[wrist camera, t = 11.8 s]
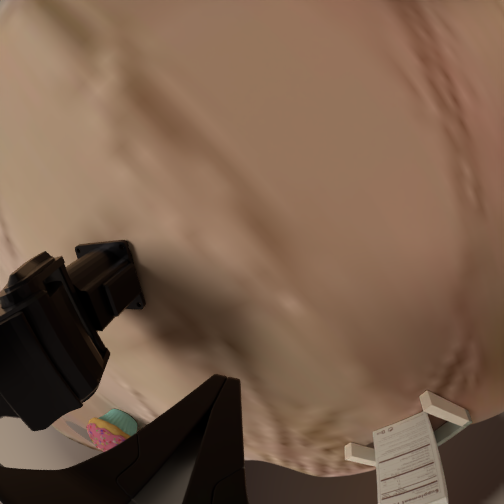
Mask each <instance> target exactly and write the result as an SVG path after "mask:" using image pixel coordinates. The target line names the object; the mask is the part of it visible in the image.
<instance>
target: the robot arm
mask: <svg viewBox="0 0 504 504" xmlns="http://www.w3.org/2000/svg"><path fill="white" fill-rule="evenodd" d="M122 245H123V247H124V248H123V247H122ZM75 252H76V255H77V258H78V259H77V260H76V261H74V262H73V263H71V264H70V265H68V266H67V267H65V265H64V263H65V262H64V259H63V257H62V256H60V257H57V258H54V257H52V256H50V255H49V254H48V253H47V252H46V251H45V252H42V253H40V254H39V255H37V256H35V257H33V258H32V259H30V260H29V261H27V262H26V263H24V264H23V265H22V266H20V267H19V268H18V269H17V270H16V271H14V272H13V273H12V274H11V275H10V277H9V281H8V284H7V285H6V286H5V287H4V288H3V290H2V291H1V292H0V418H2V417H13V418H21V419H22V421H23V422H24V423H25V424H26V425H27V426H28V427H29V428H30V429H31V430H32V431H38V430H44V429H46V428H47V427H49V426H50V425H51V424H52V423H54V422H55V421H56V420H57V419H59V418H60V417H61V416H63V415H65V414H66V413H68V412H70V411H73V410H75V409H78V408H81V407H82V406H83V404H82V403H83V402H85V401H86V400H88V399H89V398H90V397H91V396H92V395H93V394H94V393H95V392H96V390H97V388H98V386H99V383H100V380H101V378H102V375H103V372H104V370H105V367H106V364H107V362H108V359H109V356H110V352H109V350H108V348H106V347H105V345H104V344H103V342H102V340H101V338H100V337H99V335H98V333H97V332H98V331H103V330H104V329H105V327H106V326H107V325H108V324H109V323H110V322H111V321H112V320H113V319H114V318H115V317H117V316H119V315H120V314H121V313H122V311H123V310H124V309H143V308H144V307H145V305H146V303H145V300H144V297H143V294H142V291H141V287H140V284H139V281H138V277H137V274H136V270H135V267H134V264H133V260H132V256H131V253H130V249H129V245H128V243H127V242H126V241H125V240H118V241H108V242H98V243H88V244H80V245H78V246H76V247H75ZM139 303H140V304H141V305H140V304H139ZM182 501H183V502H182ZM181 503H182V504H249V501H248V496H247V488H246V480H245V464H244V446H243V427H242V406H241V384H240V379H237V378H232V377H228V378H227V376H223V375H219V374H214V375H213V376H212V377H210V378H209V379H208V380H207V381H205V382H204V383H203V384H201V385H200V386H199V387H198V388H196V389H195V390H194V391H193V392H191V393H190V394H189V395H187V396H186V397H185V398H183V399H182V400H181V401H179V402H178V403H177V404H175V405H174V406H173V407H171V408H170V409H169V410H167V411H166V412H165V413H163V414H162V415H161V416H159V417H158V418H156V419H155V420H154V421H152V422H151V423H149V424H148V425H147V426H145V427H144V428H142V429H141V430H139V431H138V432H137V433H135V434H133V435H132V436H131V437H129V438H128V439H126V440H124V441H123V442H121V443H120V444H118V445H116V446H115V447H113V448H111V449H109V450H107V451H105V452H103V453H101V454H99V455H97V456H95V457H93V458H90V459H88V460H86V461H84V462H82V463H79V464H77V465H75V466H72V467H69V468H66V469H61V470H31V469H16V468H6V467H4V466H3V465H1V464H0V504H181Z"/></svg>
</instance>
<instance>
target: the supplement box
mask: <svg viewBox="0 0 504 504" xmlns="http://www.w3.org/2000/svg"><path fill="white" fill-rule="evenodd" d="M373 440H374V449H375V460H376V473H377V488H378V489H377V490H378V504H448V494H447V489H446V483H445V477H444V473H443V467H442V463H441V459H440V454H439V451H438V447H437V443H436V439H435V436H434V432H433V429H432V426H431V423H430V420H429V417H428V413H426V412H424V411H423V412H421V413H418V414H416V415H414V416H411V417H409V418H407V419H404V420H402V421H399V422H397V423H394V424H392V425H389V426H386V427H384V428H381V429H378V430H376V431H374V432H373Z"/></svg>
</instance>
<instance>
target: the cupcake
mask: <svg viewBox="0 0 504 504" xmlns="http://www.w3.org/2000/svg"><path fill="white" fill-rule="evenodd" d="M137 426H138V425H137V423H136V421H135V420H134V419H133V418H132V417H131V416H129V415H128V414H126V413H125V412H123V411H121V410H118V409H112V410H111V411H109V412H108V413H107V414H105V415H104V416H102V417H99V418H92V419H90V421H89V423H88V425H87V431H88V433H89V436H90V438H91V440H92V442H93V443H94V444H95V445H96V447H97V448H99V449H101V450H102V451H104V452H105V451H107V450H109V449H111V448H113V447H115V446H116V445H118V444H120V443H121V442H123V441H124V440H126V439H128V438H129V437H131V436H132V435H133V434H135V433H136V432H137Z"/></svg>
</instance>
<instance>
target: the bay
mask: <svg viewBox="0 0 504 504" xmlns="http://www.w3.org/2000/svg"><path fill="white" fill-rule="evenodd" d="M419 398H420V402H421V405H422V409H423V411H424V412H426V413H429V414H431V415H434V416H436V417H439V418H441V419H444V420H446V421H448V422H447V423H445V424H444V425H442V426H441V427H440V428H438V429H437V430H435V431H434V436H435V439H436V443H437V447H438V446H440V445H441V444H443V443H444V442H446V441H447V440H449V439H450V438H452V437H453V436H455V435H456V434H457V433H459V432H460V431H462V430H463V429H464V428H466V427H467V426H468V425H470V424H471V423H472V420H471V417H470V414H469V412H468V410H466V409H464V408H462V407H460V406H458V405H456V404H454V403H452V402H450V401H448V400H446V399H444V398H442V397H440V396H438V395H436V394H434V393H432V392H430V391H428V390H426V391H425V392H424V393H423V394H421V395H420V396H419ZM345 460H349V461H353V462H357V463H362V464H366V465H371V466H376V460H375V449H373V448H369V447H366V446H362V445H359V444H355V443H352V442H351V443H349V444H347V445H345Z"/></svg>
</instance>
